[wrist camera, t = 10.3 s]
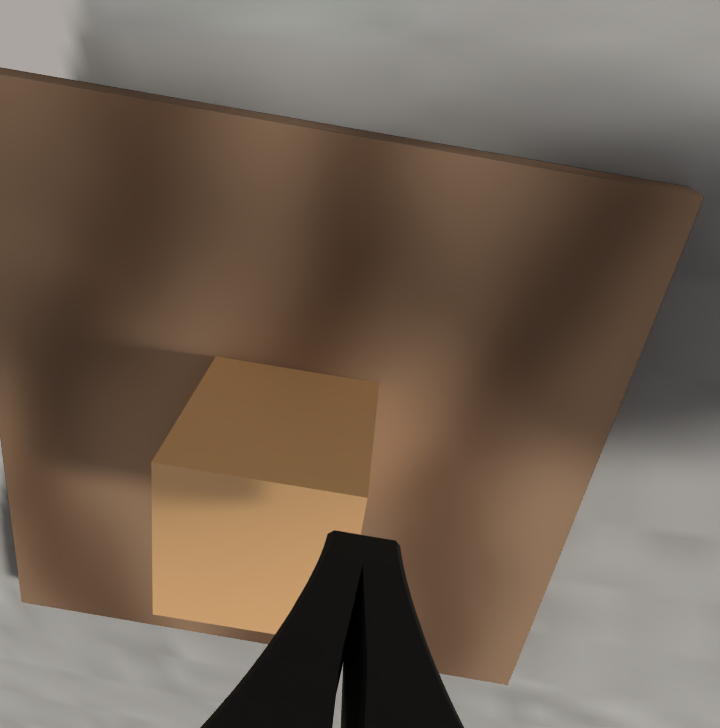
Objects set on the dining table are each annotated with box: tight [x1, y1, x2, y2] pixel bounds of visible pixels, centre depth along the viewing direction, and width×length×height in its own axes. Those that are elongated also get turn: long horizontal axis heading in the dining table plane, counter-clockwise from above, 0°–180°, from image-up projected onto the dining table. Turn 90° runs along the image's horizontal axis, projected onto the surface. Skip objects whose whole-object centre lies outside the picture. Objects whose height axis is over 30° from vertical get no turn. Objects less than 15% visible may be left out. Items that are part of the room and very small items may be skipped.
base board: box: [0, 68, 704, 685], centre depth 22 cm, size 20×20×1 cm
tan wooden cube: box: [151, 356, 379, 634], centre depth 19 cm, size 5×5×6 cm
